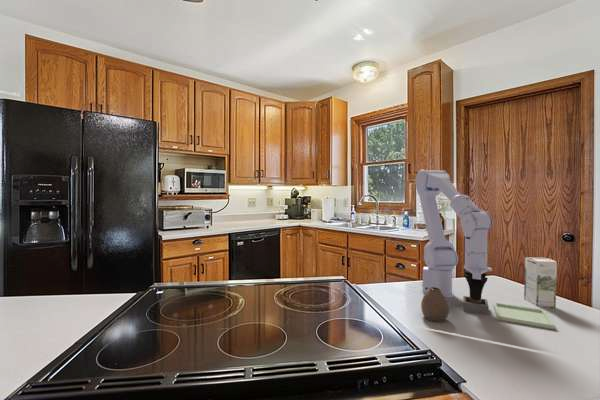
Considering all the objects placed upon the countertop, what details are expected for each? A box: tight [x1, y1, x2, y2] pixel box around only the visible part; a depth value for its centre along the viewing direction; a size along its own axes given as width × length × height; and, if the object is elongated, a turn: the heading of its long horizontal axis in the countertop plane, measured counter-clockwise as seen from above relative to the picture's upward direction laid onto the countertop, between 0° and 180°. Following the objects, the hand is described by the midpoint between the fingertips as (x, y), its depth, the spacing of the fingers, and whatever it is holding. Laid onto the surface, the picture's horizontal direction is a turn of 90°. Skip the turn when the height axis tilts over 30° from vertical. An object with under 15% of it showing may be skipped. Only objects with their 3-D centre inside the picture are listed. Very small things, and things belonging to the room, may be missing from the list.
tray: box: [492, 301, 556, 331], centre depth 81 cm, size 12×12×2 cm
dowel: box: [469, 294, 482, 304], centre depth 87 cm, size 3×3×8 cm
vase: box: [420, 287, 450, 323], centre depth 80 cm, size 7×7×9 cm
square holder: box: [462, 295, 490, 316], centre depth 87 cm, size 6×6×3 cm
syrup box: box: [523, 256, 558, 309], centre depth 92 cm, size 6×6×14 cm
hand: (475, 297), depth 87 cm, fingers closed on dowel, 3 cm apart
